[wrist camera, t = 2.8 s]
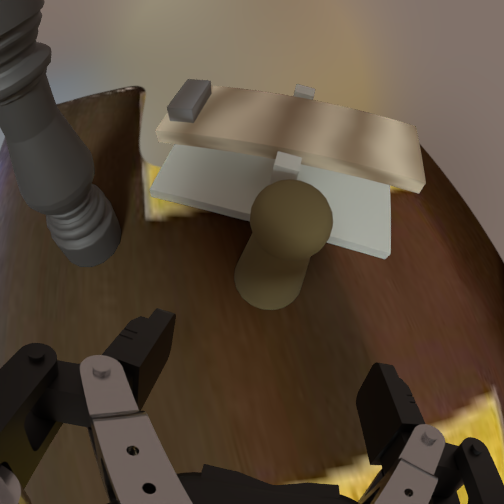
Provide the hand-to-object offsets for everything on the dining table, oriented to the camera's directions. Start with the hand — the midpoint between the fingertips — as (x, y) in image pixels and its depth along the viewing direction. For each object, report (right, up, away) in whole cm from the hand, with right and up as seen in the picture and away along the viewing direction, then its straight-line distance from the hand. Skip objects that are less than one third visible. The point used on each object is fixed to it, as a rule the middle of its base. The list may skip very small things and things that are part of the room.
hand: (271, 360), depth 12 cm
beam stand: (+3, +12, +22) cm, 25 cm away
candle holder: (-16, +5, +16) cm, 24 cm away
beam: (+3, +15, +17) cm, 23 cm away
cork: (+1, +2, +17) cm, 17 cm away
